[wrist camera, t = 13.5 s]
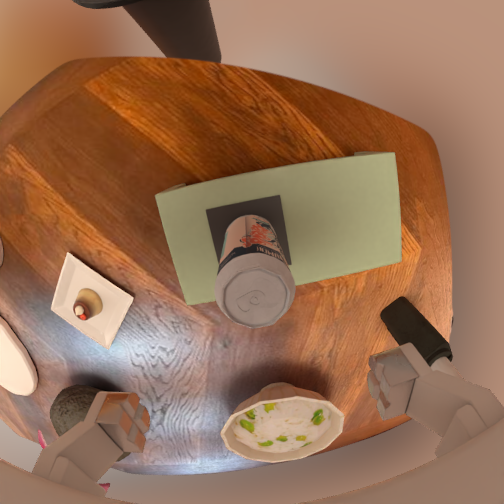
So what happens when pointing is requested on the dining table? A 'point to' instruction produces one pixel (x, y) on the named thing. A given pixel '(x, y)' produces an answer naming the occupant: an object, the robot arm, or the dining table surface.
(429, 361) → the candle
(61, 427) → the vase
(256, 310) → the beer can
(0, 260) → the mug
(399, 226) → the shelf
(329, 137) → the dining table surface
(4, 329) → the decorative plate
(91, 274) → the dessert
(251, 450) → the bowl
